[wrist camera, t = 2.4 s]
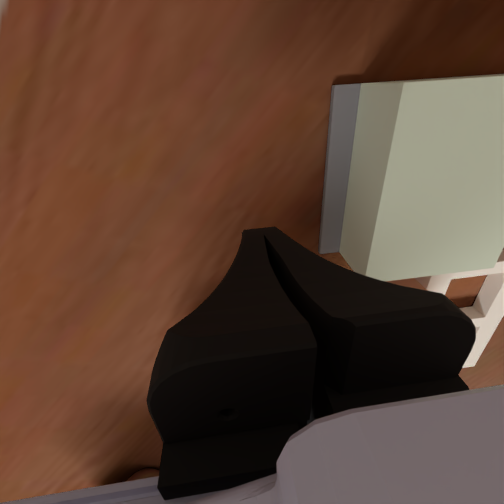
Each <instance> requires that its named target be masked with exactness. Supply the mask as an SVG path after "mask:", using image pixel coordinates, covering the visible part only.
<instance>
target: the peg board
mask: <svg viewBox="0 0 504 504" xmlns="http://www.w3.org/2000/svg"><path fill="white" fill-rule="evenodd" d="M481 275H487V277H486V279H485V281H484V283H483V285H482V287H481V289H480V291H479V293H478V295H477V298H476V300H475V302H474V304H473V306H471V307H464V308H459V309H460V310H461V311H463V312H464V313H465V314H466V315H467V316H468V317H469V318H470V319H471V320H472V322H473V323H474V325H475V327H476V340H475V343H474V345H473V348H472V351H471V352H470V354H469V356H468V358H467V360H466V361H465V363H464V365H463V367H462V368H465V367H472V366H475V364H476V362H477V360H478V359H479V357H480V355H481V354H482V352H483V350H484V348H485V347H486V345H487V343H488V341H489V340H490V338H491V336H492V335H493V333H494V331H495V329H496V328H497V326H498V324H499V322H500V321H501V319H502V317H503V316H504V250H502V252H501V254H500V256H499V258H498V260H497V262H496V264H495V266H494V268H489V269H481V270H473V271H465V272H457V273H449V274H441V275H433V276H425V277H417V278H415V279H416V280H417V281H418V282H419V283H420V284H421V285H422V286H423V287H424V288H426V289H427V290H428V291H432V292H437V293H442V294H444V295H445V293H446V291H447V288H448V286H449V283H450V281H451V279H457V278H465V277H473V276H481Z"/></svg>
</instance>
